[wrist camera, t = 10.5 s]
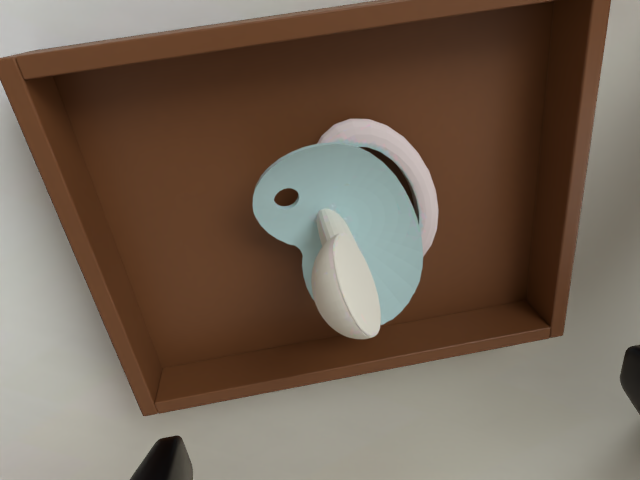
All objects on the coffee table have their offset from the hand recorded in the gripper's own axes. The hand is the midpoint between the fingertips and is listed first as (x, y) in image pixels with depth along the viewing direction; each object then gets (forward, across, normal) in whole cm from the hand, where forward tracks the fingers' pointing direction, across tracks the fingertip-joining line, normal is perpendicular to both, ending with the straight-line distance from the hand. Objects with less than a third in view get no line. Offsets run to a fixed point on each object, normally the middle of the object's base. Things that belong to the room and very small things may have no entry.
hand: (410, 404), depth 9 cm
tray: (+10, 0, 0) cm, 10 cm away
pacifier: (+10, -1, 0) cm, 10 cm away
